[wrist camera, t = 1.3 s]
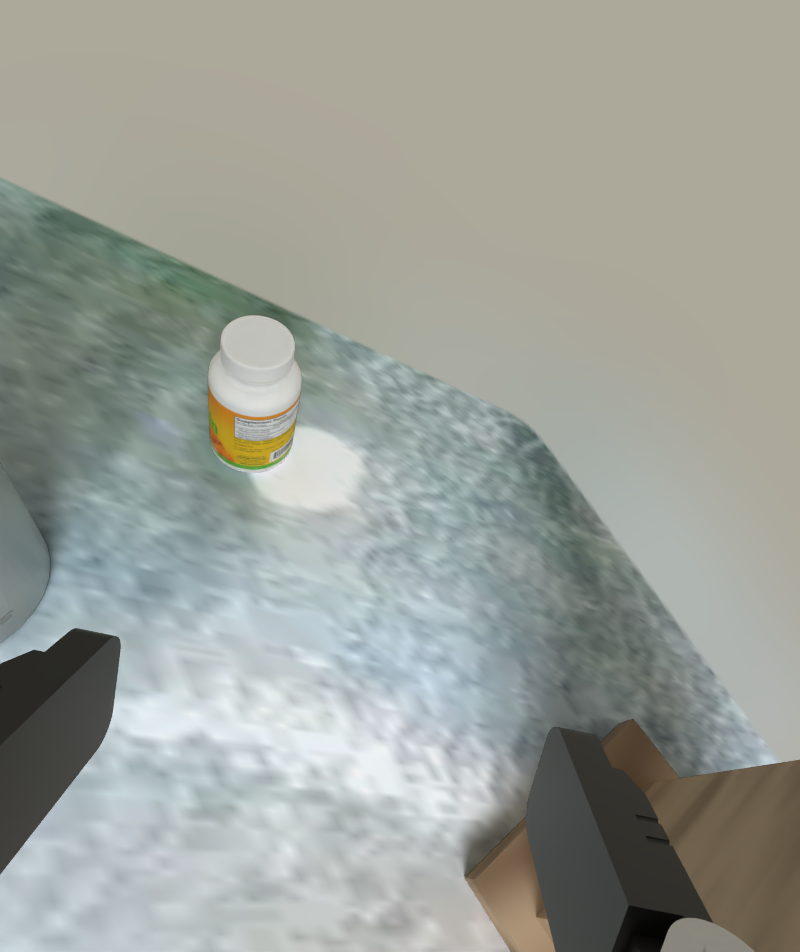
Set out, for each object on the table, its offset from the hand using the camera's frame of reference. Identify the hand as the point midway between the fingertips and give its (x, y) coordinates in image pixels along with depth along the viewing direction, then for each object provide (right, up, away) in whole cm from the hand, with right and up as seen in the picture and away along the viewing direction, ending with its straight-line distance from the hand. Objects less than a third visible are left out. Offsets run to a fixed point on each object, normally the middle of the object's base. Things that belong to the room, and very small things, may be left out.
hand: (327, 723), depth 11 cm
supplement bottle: (-9, +7, +29) cm, 31 cm away
